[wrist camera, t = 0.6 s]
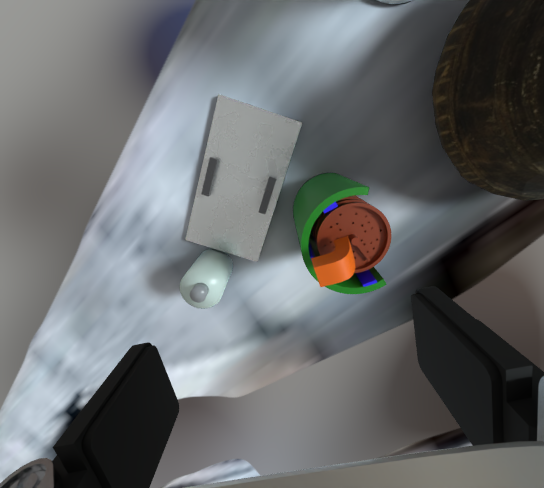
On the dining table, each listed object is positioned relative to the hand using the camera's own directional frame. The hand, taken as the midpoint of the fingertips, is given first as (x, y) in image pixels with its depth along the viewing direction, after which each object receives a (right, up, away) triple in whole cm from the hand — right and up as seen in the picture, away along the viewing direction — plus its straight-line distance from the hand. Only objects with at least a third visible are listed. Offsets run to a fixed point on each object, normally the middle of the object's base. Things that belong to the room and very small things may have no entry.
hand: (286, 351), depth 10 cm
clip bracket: (-5, +12, +30) cm, 33 cm away
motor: (+7, +9, +31) cm, 33 cm away
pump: (-9, +1, +34) cm, 35 cm away
